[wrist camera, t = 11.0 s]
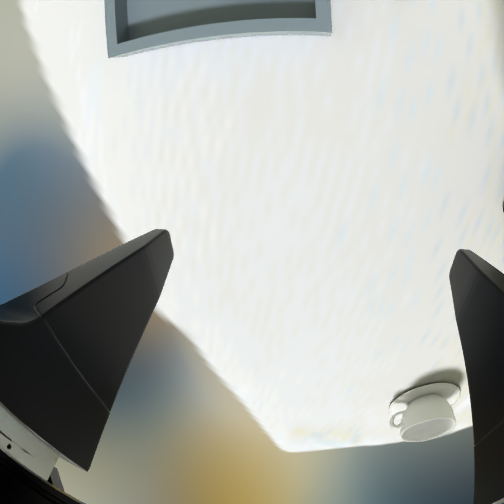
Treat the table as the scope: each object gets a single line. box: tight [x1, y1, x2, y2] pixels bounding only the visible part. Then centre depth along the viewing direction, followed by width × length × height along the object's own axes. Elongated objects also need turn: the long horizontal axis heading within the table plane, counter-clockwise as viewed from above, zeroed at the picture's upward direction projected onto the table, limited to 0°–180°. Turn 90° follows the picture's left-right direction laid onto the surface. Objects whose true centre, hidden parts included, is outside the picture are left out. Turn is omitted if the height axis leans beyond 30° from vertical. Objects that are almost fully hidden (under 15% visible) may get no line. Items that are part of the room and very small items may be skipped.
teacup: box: [389, 383, 460, 442], centre depth 30 cm, size 10×10×5 cm
